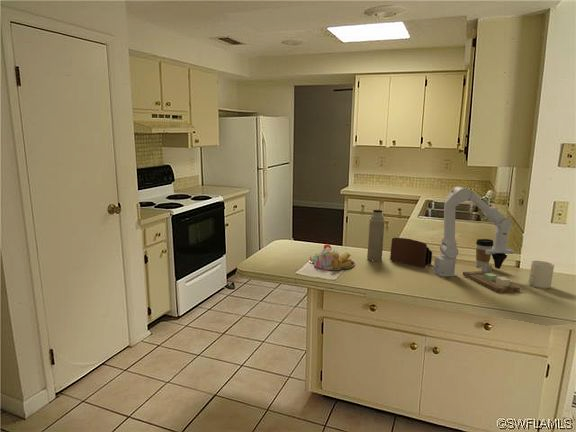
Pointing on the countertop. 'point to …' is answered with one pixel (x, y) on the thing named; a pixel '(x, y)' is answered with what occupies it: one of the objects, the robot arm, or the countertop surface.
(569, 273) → the countertop surface
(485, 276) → the sage green cube
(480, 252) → the coffee cup
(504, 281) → the beige cube
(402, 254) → the letter holder
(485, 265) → the slider knob
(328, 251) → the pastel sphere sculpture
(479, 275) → the brown flat board
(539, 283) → the mug
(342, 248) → the countertop surface
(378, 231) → the thermos bottle
